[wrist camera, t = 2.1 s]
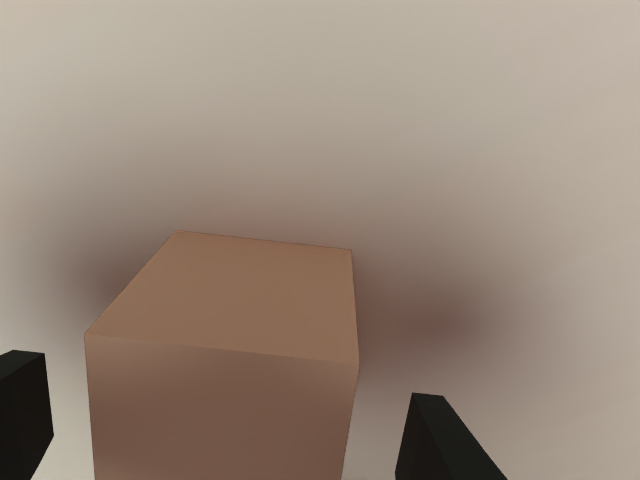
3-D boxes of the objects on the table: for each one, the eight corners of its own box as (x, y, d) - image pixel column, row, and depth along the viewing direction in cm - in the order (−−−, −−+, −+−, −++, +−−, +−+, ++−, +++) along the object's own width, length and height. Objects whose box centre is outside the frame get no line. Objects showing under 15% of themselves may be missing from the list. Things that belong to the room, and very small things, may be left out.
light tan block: (351, 248, 13) (359, 363, 8) (331, 391, 14) (328, 556, 10) (176, 229, 13) (83, 333, 8) (176, 375, 14) (98, 532, 10)
